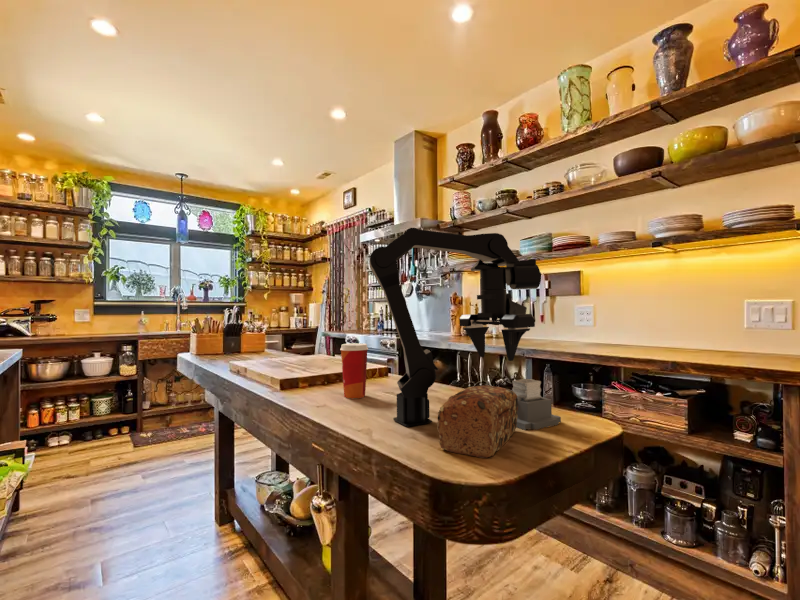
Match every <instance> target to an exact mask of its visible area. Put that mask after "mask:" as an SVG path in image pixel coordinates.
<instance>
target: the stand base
mask: <svg viewBox="0 0 800 600" xmlns="http://www.w3.org/2000/svg"><path fill="white" fill-rule="evenodd" d="M517 399H518V411H517V414H518V418H517V426H516V428H517V427H518V428H517V429H520V428H521V429H520V430H523V429H524V431H527V430H526V429H528V430H533V429H534V431H536V430H540V428H541V429H545V428H544V427H546V428H550V427H554V425H555V426H559V425H558V424H560V423H562V417H561V416H559V415H556V414H552V413H553V412H552V411H553V410H552V399H551V398H547V397H543V396H541V399H540V400H538V401H532V402H524V401H521V398H519V397H517ZM559 422H560V423H559ZM549 426H550V427H549ZM535 429H536V430H535Z"/></svg>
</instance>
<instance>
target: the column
mask: <svg viewBox="0 0 800 600" xmlns="http://www.w3.org/2000/svg"><path fill="white" fill-rule="evenodd" d="M511 381H512V383H511V384H512V386H513V387H512V388H511V389H512V390H511V391H513V392H514V393H516V395H517V397H519V398H521V401H524V402H532V401H538V400H540V399H541V397H542V395H541V392H542V388H541V384H542V381H541V380H537V379H536V380H535V379H530V378H523V379H515V380H511Z"/></svg>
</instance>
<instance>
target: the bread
mask: <svg viewBox="0 0 800 600" xmlns="http://www.w3.org/2000/svg"><path fill="white" fill-rule="evenodd" d="M517 411H518V399H517V395H516V393H514V392H513V391H512V390H511V389H510V388H504V387H500V386H493V385H477V386H476V385H474V386H469V387H466V388H464V389H463V390H461V391H458V392H457V393H455V394H454V395H451V396H449V397H448V398H447V400H445V402H444V403H443V404H442V405H441V406H440V407H439V410H438V412H437V423H436V425H437V428H436V430H437V432H438V434H439V435H438V440H439V445H440V449H443V450H444V451H447V452H450V453H455V454H459V455H461V454H462V455H466V456H471V457H477V458H480V459H487V458H490V457H494V455H495V453H496V452H498V451H499V450H501V448H502V447H503V446H504V445H505V444H506V443H507V442H508V441H509V440H510V438H511V437H512V436H513V434H514V433H515V432H516V430H517V427H516V426H517V418H518V414H517Z"/></svg>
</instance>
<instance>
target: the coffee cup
mask: <svg viewBox="0 0 800 600" xmlns="http://www.w3.org/2000/svg"><path fill="white" fill-rule="evenodd" d="M339 350H340V355H341V369H342V385H343V395H344V397H343V398H345V397H346V398H345V399H349V398H358V399H362V397H363V398H365V397H366V389H367V368H368V367H367V363H368V350H369V347H368V344H367V343H359V342H358V343H356V342H355V343H352V342H351V343H343V344H341V347H340V349H339ZM364 396H365V397H364Z"/></svg>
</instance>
